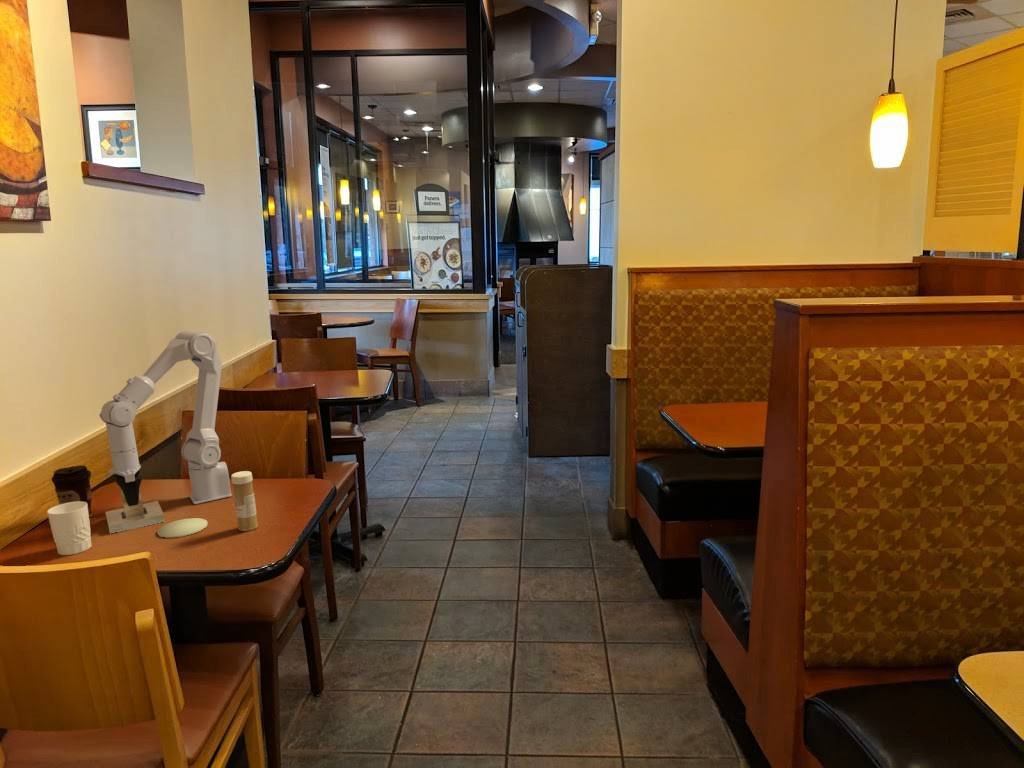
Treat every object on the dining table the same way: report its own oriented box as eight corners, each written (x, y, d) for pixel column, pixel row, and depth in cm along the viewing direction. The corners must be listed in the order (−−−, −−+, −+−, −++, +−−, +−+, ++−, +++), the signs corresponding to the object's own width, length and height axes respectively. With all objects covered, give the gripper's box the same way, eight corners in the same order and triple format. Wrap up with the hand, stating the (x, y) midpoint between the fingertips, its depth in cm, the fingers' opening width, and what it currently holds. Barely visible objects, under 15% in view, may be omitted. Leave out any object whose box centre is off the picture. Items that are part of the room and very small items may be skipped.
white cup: (65, 543, 176) (57, 502, 174) (100, 540, 176) (93, 499, 174) (48, 558, 168) (39, 515, 166) (85, 555, 169) (77, 512, 167)
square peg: (142, 509, 190) (137, 479, 189) (144, 514, 187) (139, 483, 185) (124, 513, 188) (119, 482, 187) (126, 518, 185) (120, 486, 183)
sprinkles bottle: (234, 529, 179) (226, 474, 176) (251, 523, 182) (244, 469, 179) (245, 533, 176) (237, 477, 173) (262, 526, 179) (255, 472, 176)
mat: (203, 516, 188) (203, 514, 188) (211, 530, 179) (211, 528, 179) (154, 527, 183) (154, 525, 183) (160, 542, 173) (160, 540, 173)
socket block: (158, 508, 196) (157, 500, 196) (164, 521, 186) (163, 514, 186) (106, 519, 190) (105, 511, 190) (110, 534, 180) (108, 526, 180)
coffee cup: (79, 525, 187) (70, 474, 185) (51, 524, 189) (41, 474, 186) (105, 512, 196) (96, 463, 193) (77, 511, 197) (68, 463, 195)
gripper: (103, 446, 189) (112, 498, 191) (107, 459, 176) (116, 514, 179) (134, 440, 192) (143, 491, 195) (140, 453, 180) (149, 507, 183)
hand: (132, 502), depth 187 cm, fingers closed on square peg, 4 cm apart
